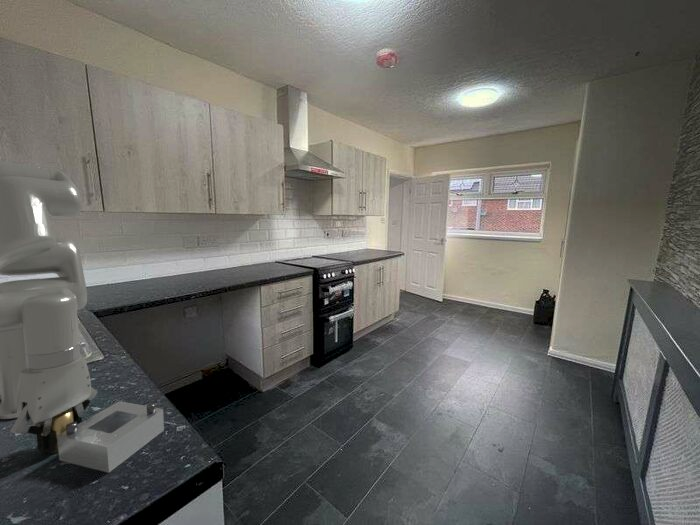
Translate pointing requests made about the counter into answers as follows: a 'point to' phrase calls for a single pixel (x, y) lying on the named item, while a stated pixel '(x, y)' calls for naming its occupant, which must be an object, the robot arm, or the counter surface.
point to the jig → (110, 435)
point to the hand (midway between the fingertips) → (61, 441)
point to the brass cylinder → (61, 424)
